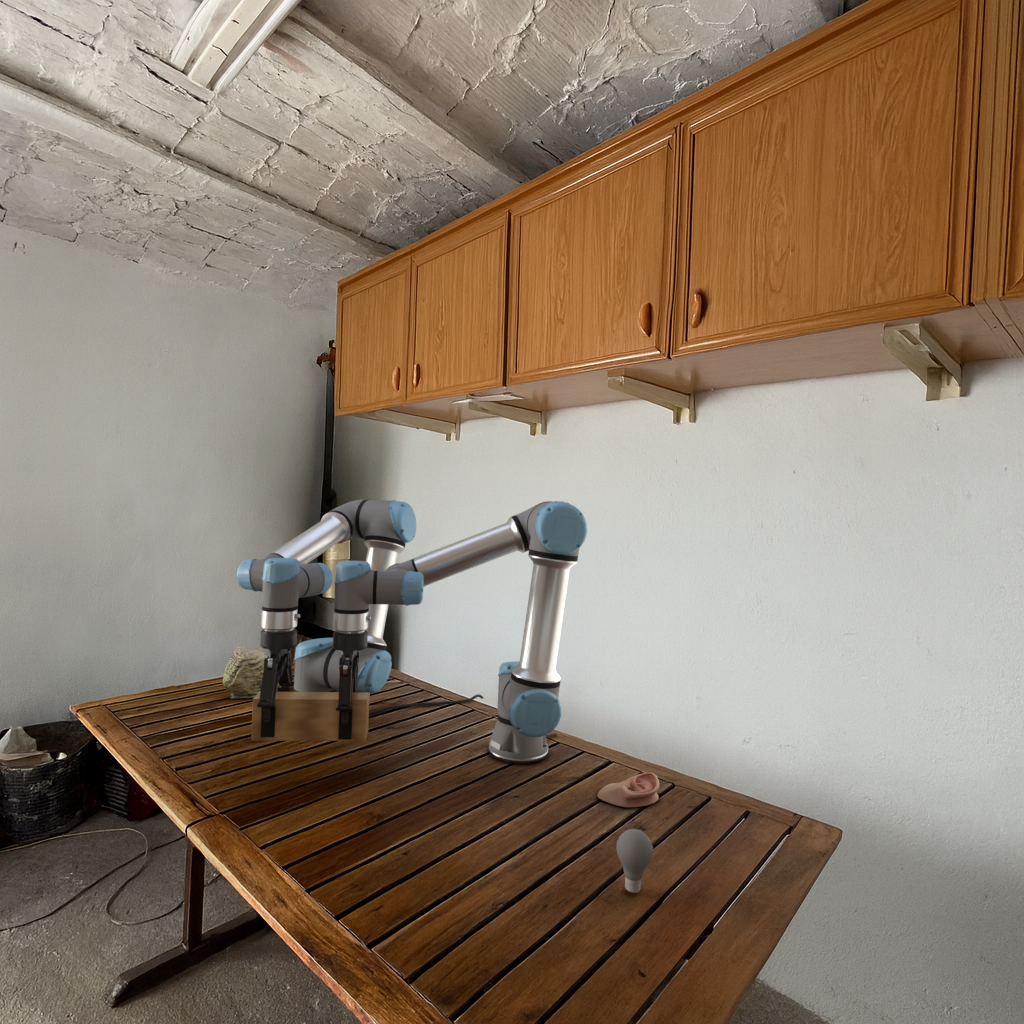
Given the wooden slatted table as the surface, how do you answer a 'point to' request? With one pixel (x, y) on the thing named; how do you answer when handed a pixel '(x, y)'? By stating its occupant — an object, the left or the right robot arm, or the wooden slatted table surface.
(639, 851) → the light bulb
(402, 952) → the wooden slatted table surface
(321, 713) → the bar
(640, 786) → the anatomical model
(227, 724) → the wooden slatted table surface
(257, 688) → the fossil
